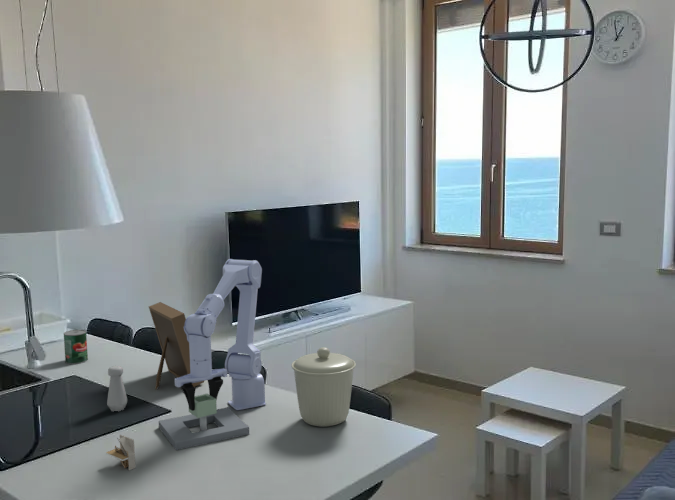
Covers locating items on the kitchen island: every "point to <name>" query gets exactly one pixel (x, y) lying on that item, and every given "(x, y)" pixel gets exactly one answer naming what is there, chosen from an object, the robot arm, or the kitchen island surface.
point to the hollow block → (204, 406)
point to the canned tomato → (75, 346)
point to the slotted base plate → (202, 428)
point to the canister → (323, 387)
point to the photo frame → (171, 341)
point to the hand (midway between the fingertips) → (202, 406)
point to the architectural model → (124, 452)
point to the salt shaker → (116, 389)
